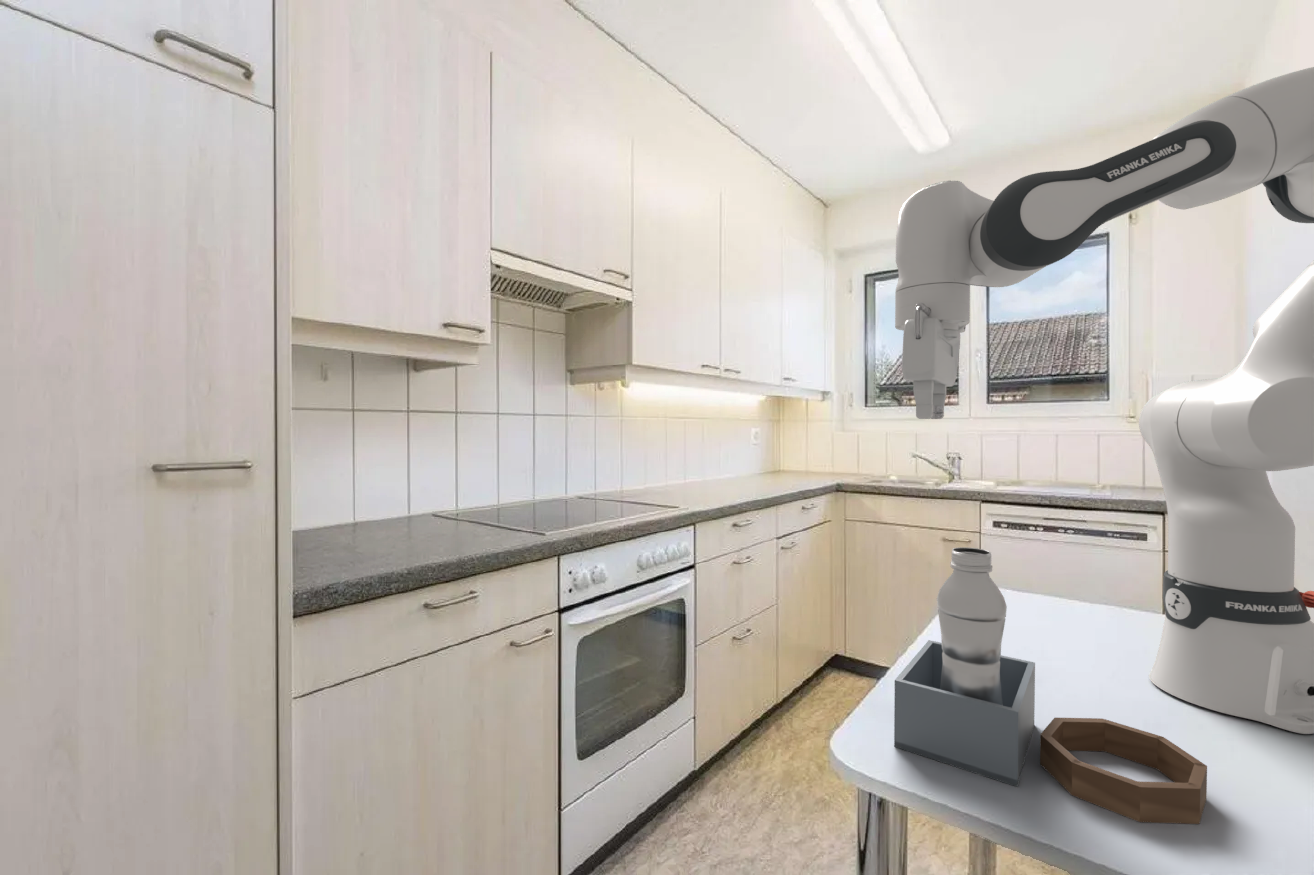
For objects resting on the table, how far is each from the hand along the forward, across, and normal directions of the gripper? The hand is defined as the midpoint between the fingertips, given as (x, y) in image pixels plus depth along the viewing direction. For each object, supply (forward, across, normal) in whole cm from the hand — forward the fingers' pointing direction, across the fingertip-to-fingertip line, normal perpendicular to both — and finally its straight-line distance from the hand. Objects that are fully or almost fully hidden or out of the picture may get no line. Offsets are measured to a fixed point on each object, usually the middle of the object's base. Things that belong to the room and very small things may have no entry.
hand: (930, 419), depth 77 cm
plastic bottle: (+34, -17, -6) cm, 38 cm away
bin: (+34, -14, -6) cm, 37 cm away
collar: (+34, -15, -19) cm, 42 cm away
